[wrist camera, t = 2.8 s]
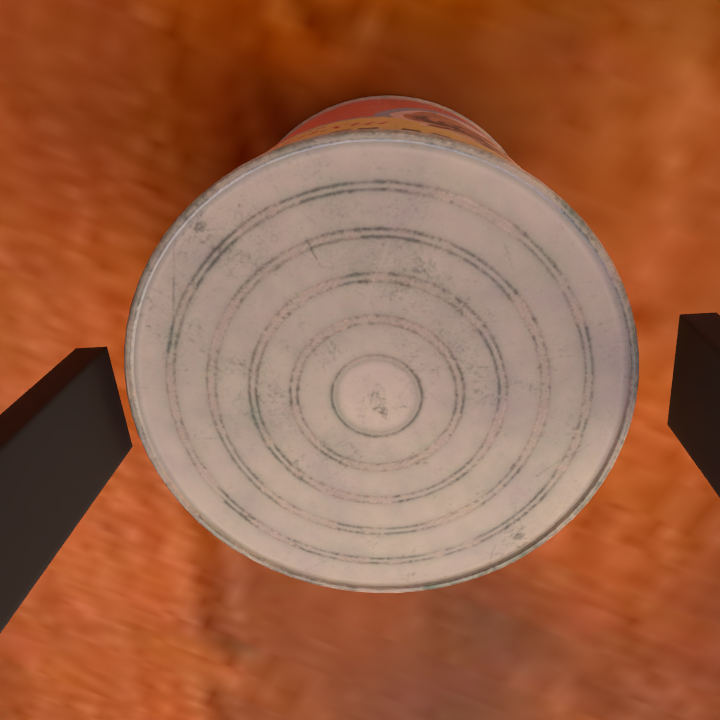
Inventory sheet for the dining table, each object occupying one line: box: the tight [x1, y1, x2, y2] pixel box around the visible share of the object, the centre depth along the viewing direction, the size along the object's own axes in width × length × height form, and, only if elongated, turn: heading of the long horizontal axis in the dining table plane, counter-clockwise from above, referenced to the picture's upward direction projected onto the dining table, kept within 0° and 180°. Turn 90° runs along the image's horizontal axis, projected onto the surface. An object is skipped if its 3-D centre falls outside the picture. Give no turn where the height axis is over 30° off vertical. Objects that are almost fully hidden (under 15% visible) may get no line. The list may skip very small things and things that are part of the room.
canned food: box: [124, 95, 639, 593], centre depth 20 cm, size 11×11×12 cm
